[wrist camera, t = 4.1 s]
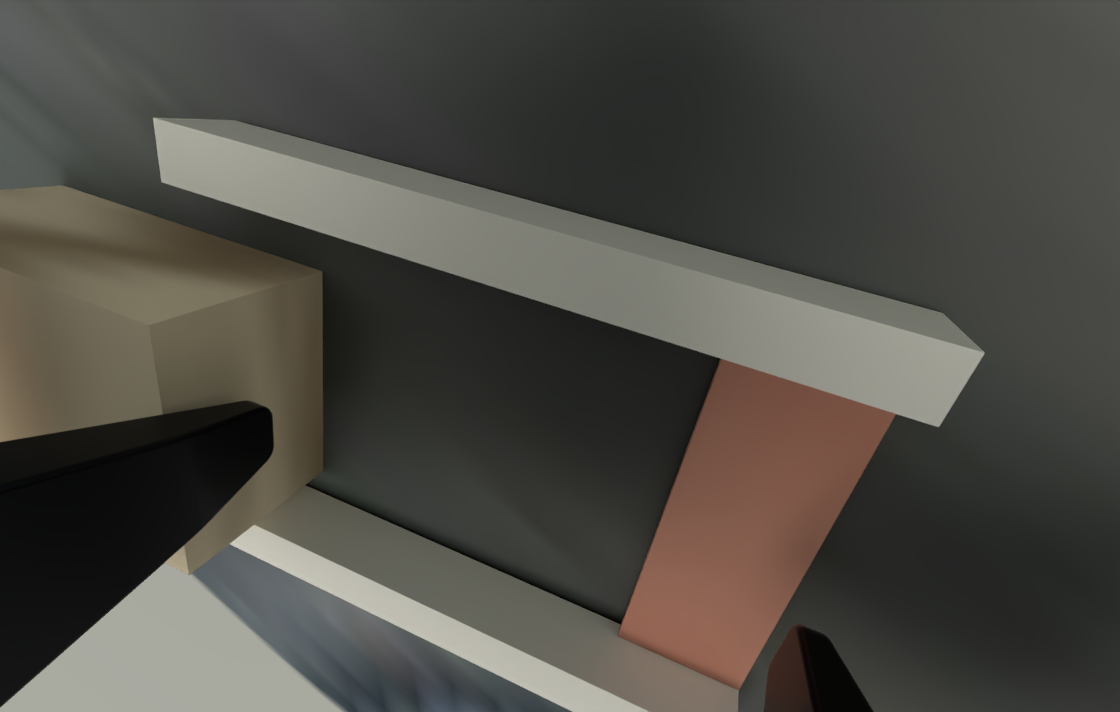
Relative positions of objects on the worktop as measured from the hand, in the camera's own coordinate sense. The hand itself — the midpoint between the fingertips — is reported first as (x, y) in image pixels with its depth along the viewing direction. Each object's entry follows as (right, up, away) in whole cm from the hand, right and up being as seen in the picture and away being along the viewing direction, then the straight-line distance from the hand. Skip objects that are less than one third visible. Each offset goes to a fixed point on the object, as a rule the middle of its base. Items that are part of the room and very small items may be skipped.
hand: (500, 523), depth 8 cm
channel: (0, +1, +2) cm, 2 cm away
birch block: (-7, +3, +4) cm, 9 cm away
